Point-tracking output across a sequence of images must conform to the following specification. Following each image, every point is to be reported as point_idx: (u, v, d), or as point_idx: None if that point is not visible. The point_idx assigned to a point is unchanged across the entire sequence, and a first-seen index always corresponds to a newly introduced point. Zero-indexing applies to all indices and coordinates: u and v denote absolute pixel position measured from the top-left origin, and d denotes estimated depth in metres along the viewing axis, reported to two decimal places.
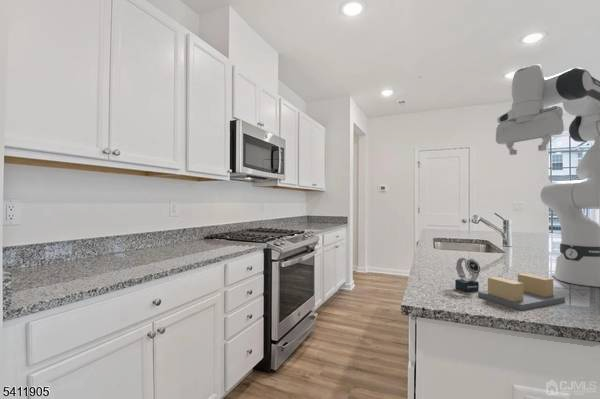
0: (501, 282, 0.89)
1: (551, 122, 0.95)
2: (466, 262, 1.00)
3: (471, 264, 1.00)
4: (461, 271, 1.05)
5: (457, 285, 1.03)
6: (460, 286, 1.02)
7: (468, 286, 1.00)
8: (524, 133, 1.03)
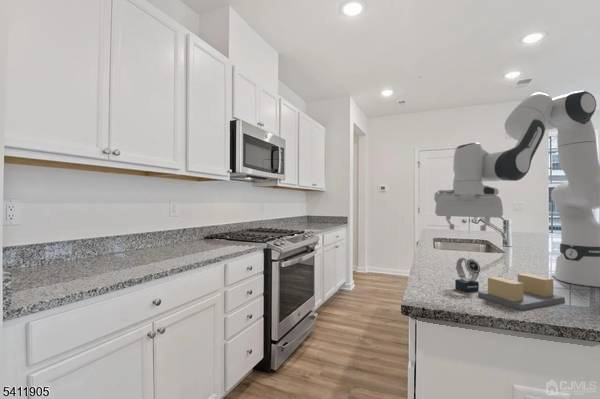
0: (501, 282, 0.89)
1: None
2: (466, 262, 1.00)
3: (471, 264, 1.00)
4: (461, 271, 1.05)
5: (457, 285, 1.03)
6: (460, 286, 1.02)
7: (468, 286, 1.00)
8: None
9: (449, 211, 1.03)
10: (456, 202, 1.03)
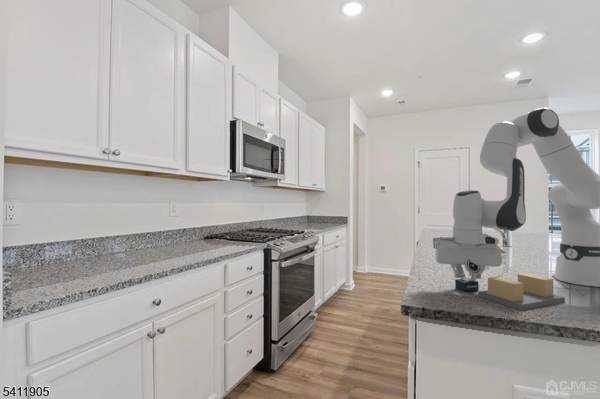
0: (501, 282, 0.89)
1: None
2: (466, 262, 1.00)
3: (471, 264, 1.00)
4: (460, 271, 1.05)
5: (457, 285, 1.03)
6: (460, 286, 1.02)
7: (468, 286, 1.00)
8: None
9: (451, 260, 1.02)
10: (457, 250, 1.02)
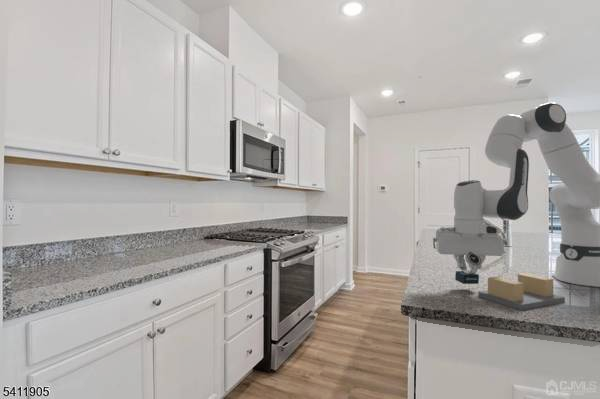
0: (501, 282, 0.89)
1: None
2: (466, 254, 1.00)
3: (471, 256, 1.00)
4: None
5: (457, 276, 1.03)
6: (459, 277, 1.02)
7: (468, 278, 1.00)
8: None
9: (452, 250, 1.02)
10: (458, 240, 1.02)
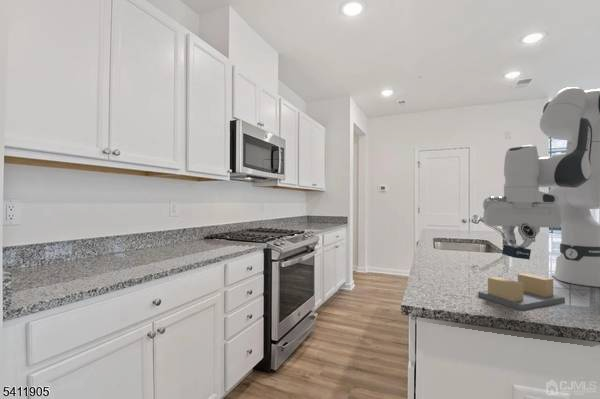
0: (501, 282, 0.89)
1: None
2: (520, 225, 0.91)
3: (526, 228, 0.90)
4: None
5: (505, 250, 0.94)
6: (508, 251, 0.93)
7: (518, 252, 0.91)
8: None
9: (502, 221, 0.93)
10: (510, 210, 0.92)
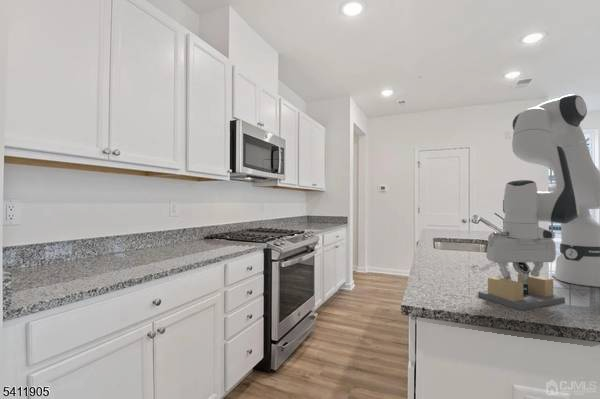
0: (501, 282, 0.89)
1: None
2: (514, 262, 0.92)
3: (520, 264, 0.92)
4: None
5: None
6: None
7: None
8: None
9: (507, 257, 0.91)
10: (513, 246, 0.91)
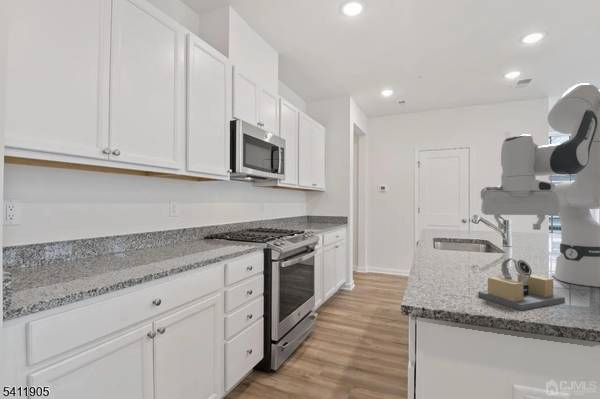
0: (501, 282, 0.89)
1: None
2: (516, 263, 0.91)
3: (522, 265, 0.91)
4: (507, 273, 0.96)
5: None
6: None
7: None
8: None
9: (499, 209, 0.95)
10: (506, 199, 0.95)
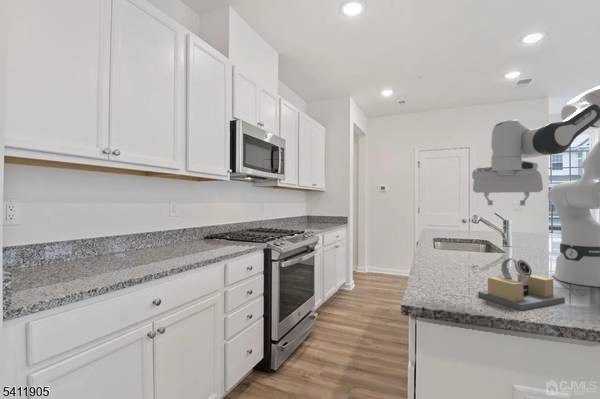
0: (501, 282, 0.89)
1: None
2: (516, 263, 0.91)
3: (522, 265, 0.91)
4: (507, 273, 0.96)
5: None
6: None
7: None
8: None
9: (486, 188, 1.07)
10: (494, 178, 1.06)
